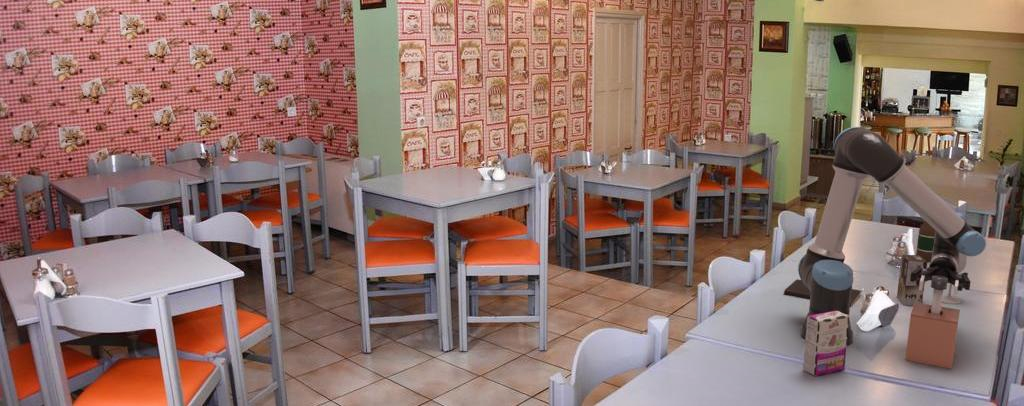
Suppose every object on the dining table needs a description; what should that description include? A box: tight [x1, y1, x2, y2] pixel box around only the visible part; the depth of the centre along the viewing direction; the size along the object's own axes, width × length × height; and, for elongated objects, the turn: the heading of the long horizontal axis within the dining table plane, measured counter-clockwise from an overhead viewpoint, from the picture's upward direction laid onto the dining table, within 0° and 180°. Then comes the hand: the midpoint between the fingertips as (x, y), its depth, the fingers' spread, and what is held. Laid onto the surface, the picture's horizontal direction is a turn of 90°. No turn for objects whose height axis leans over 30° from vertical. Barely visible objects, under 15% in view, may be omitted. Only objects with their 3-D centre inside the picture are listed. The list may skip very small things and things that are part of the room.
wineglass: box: [942, 253, 967, 305], centre depth 284 cm, size 8×8×21 cm
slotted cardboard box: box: [905, 302, 961, 369], centre depth 235 cm, size 12×12×14 cm
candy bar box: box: [802, 311, 850, 377], centre depth 225 cm, size 11×5×16 cm, turn 114°
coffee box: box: [896, 254, 929, 306], centre depth 283 cm, size 9×6×16 cm
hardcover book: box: [783, 278, 862, 308], centre depth 291 cm, size 16×23×2 cm
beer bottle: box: [915, 220, 935, 263], centre depth 334 cm, size 8×8×24 cm
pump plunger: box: [930, 276, 948, 314], centre depth 232 cm, size 8×4×22 cm, turn 149°
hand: (938, 288), depth 228 cm, fingers open, 8 cm apart
